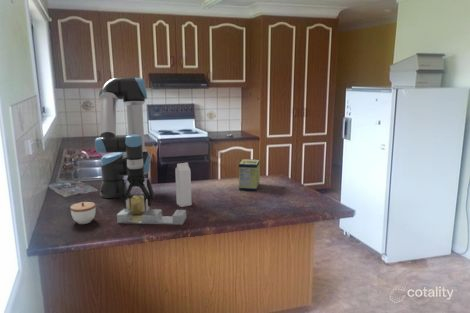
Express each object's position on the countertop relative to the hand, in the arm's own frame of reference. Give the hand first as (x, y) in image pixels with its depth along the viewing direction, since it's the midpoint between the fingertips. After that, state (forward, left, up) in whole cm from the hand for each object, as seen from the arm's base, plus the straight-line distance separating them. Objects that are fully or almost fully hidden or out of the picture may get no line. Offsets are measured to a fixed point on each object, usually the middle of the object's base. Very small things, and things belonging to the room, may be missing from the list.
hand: (138, 212), depth 186 cm
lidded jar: (-21, -13, 0) cm, 25 cm away
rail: (+10, -10, 0) cm, 14 cm away
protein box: (+53, +47, 0) cm, 70 cm away
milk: (+20, +13, 0) cm, 24 cm away
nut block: (0, 0, 0) cm, 0 cm away
